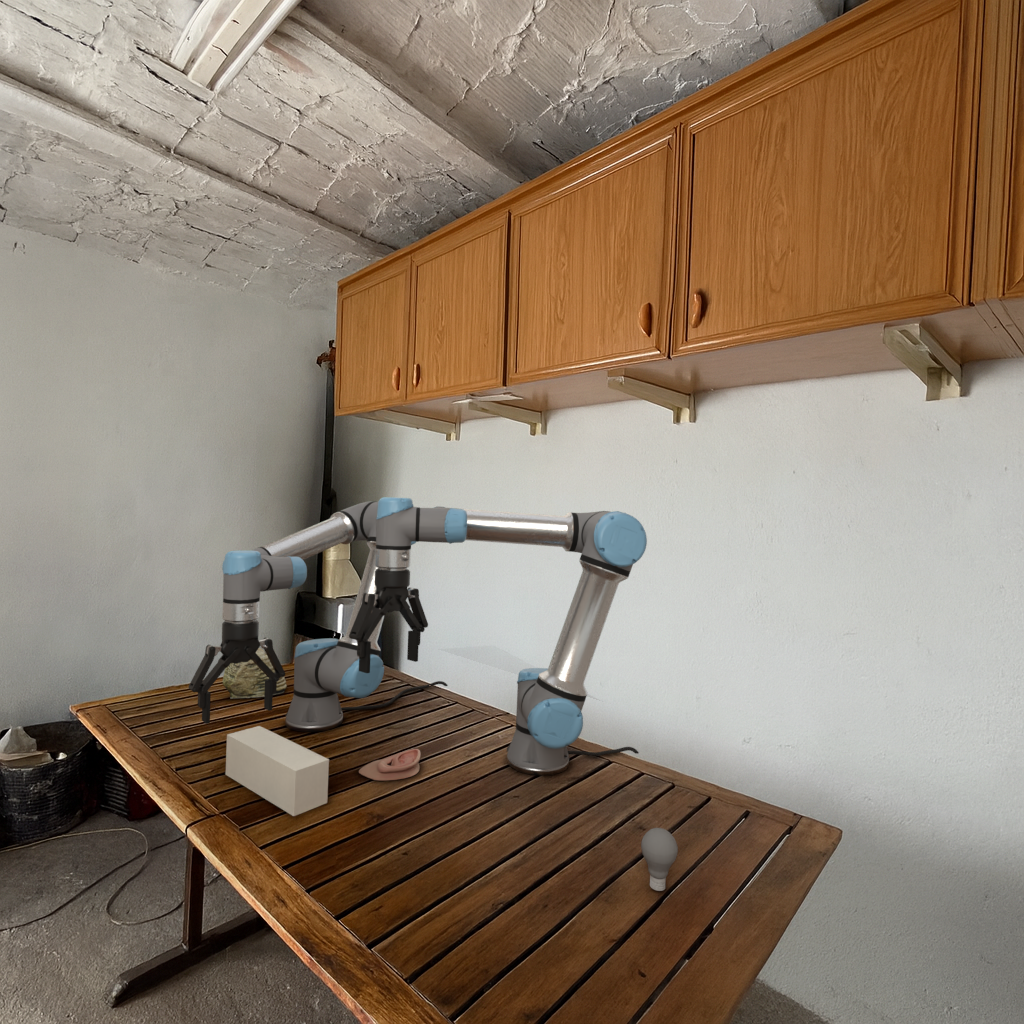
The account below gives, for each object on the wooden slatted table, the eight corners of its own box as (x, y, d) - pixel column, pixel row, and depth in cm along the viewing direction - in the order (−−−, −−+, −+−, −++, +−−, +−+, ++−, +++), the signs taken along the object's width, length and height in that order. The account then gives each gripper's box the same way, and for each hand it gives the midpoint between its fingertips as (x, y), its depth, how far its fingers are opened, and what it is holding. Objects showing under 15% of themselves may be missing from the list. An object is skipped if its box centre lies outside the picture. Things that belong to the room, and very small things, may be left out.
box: (225, 774, 142) (226, 734, 142) (258, 764, 148) (259, 725, 148) (293, 816, 125) (295, 770, 125) (327, 802, 131) (329, 759, 131)
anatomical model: (353, 759, 143) (374, 741, 154) (352, 777, 143) (373, 757, 154) (408, 767, 140) (426, 748, 152) (408, 785, 140) (425, 764, 152)
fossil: (218, 695, 195) (220, 647, 195) (278, 685, 208) (279, 640, 207) (228, 703, 189) (230, 653, 188) (289, 692, 201) (290, 645, 201)
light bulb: (635, 878, 109) (637, 820, 109) (668, 878, 110) (671, 820, 109) (645, 900, 103) (648, 839, 103) (680, 900, 104) (683, 839, 103)
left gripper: (185, 630, 129) (182, 732, 130) (301, 617, 147) (298, 708, 147) (174, 623, 135) (171, 722, 135) (287, 612, 152) (284, 699, 152)
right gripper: (357, 574, 125) (353, 681, 125) (445, 566, 145) (442, 659, 145) (333, 570, 130) (330, 673, 130) (422, 563, 149) (419, 653, 150)
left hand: (237, 715), depth 141 cm, fingers open, 13 cm apart
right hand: (389, 666), depth 137 cm, fingers open, 13 cm apart
